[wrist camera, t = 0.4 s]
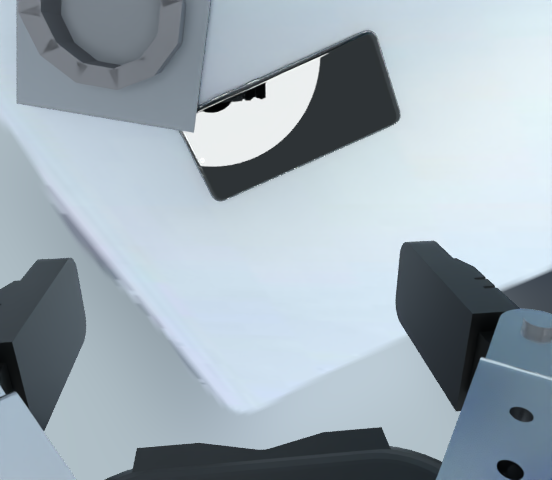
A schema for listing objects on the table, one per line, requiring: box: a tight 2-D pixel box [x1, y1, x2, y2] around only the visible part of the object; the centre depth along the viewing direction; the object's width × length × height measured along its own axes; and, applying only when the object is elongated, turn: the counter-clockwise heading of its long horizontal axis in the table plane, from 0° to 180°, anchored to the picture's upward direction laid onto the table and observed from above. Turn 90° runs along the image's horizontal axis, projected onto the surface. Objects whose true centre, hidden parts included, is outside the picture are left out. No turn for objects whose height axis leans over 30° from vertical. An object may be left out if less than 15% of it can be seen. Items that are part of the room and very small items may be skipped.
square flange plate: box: [17, 0, 211, 133], centre depth 31 cm, size 14×12×6 cm
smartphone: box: [179, 30, 400, 201], centre depth 37 cm, size 7×1×16 cm
